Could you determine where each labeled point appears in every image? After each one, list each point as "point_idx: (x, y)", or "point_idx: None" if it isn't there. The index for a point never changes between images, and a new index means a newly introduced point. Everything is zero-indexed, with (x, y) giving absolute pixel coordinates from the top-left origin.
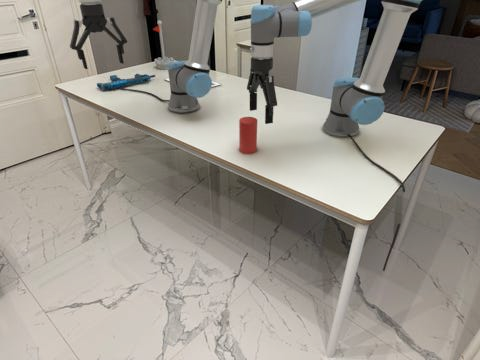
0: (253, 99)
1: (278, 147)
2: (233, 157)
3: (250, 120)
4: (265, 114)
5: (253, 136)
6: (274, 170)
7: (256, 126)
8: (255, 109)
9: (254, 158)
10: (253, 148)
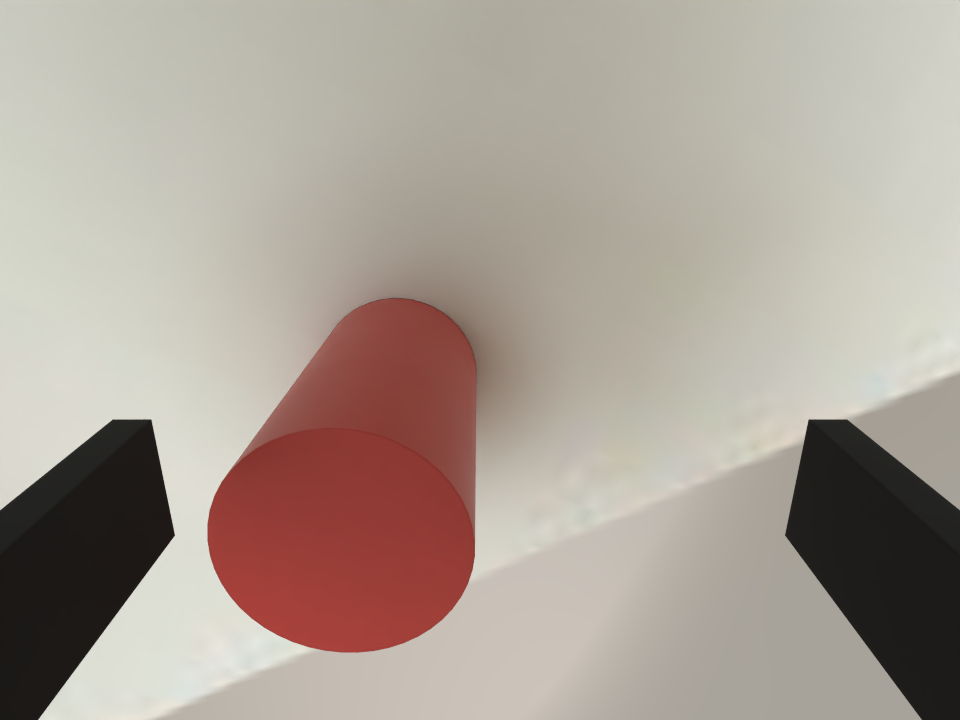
0: (16, 648)
1: (464, 75)
2: (482, 519)
3: (366, 529)
4: (890, 663)
5: (472, 427)
6: (818, 318)
7: (444, 435)
8: (151, 450)
9: (567, 383)
10: (473, 369)
